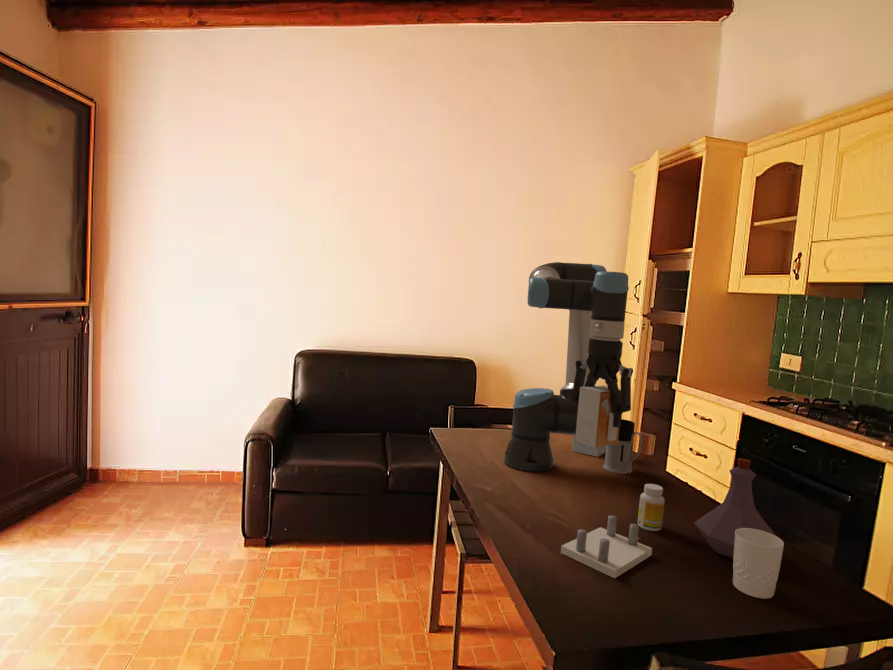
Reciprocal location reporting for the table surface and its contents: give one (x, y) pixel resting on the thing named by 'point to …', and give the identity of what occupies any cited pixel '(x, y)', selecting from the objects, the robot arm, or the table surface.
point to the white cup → (756, 562)
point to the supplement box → (587, 448)
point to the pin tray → (615, 553)
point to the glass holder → (622, 449)
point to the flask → (733, 512)
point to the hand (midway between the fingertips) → (597, 436)
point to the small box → (594, 416)
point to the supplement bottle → (651, 508)
